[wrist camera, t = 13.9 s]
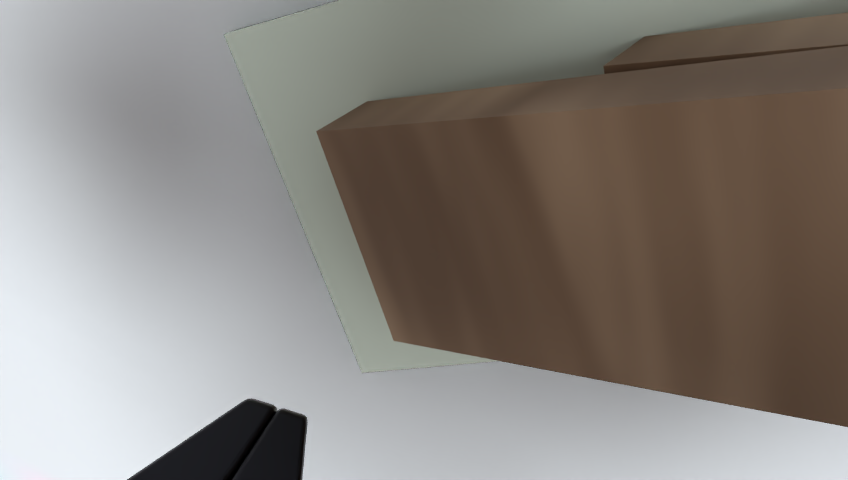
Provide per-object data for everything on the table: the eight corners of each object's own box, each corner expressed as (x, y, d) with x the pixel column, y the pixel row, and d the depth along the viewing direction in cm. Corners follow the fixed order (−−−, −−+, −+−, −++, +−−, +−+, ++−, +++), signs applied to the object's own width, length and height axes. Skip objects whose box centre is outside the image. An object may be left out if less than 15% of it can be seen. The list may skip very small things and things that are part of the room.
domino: (393, 340, 14) (895, 435, 9) (315, 131, 12) (916, 82, 7) (431, 300, 15) (900, 362, 10) (366, 101, 13) (919, 37, 8)
